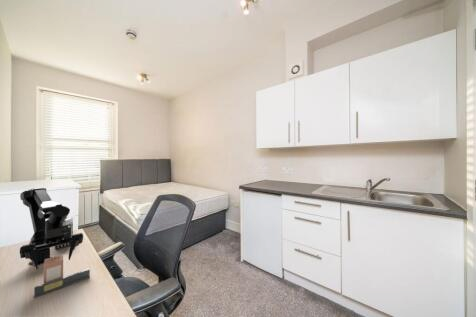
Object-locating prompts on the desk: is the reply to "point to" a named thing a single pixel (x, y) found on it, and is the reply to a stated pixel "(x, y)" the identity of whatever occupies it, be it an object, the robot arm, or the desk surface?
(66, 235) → the battery charger
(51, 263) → the carton
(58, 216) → the robot arm
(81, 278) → the rail
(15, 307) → the desk surface
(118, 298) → the desk surface
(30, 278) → the desk surface
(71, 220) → the syrup box
